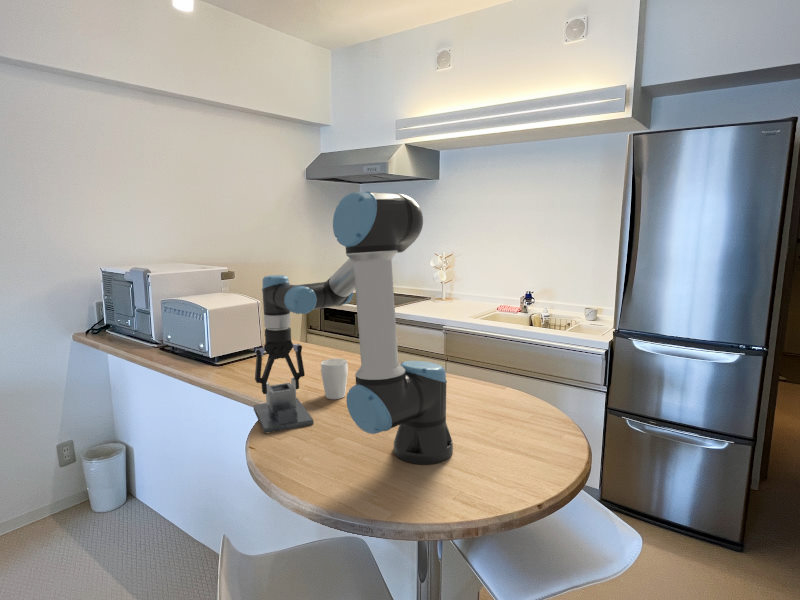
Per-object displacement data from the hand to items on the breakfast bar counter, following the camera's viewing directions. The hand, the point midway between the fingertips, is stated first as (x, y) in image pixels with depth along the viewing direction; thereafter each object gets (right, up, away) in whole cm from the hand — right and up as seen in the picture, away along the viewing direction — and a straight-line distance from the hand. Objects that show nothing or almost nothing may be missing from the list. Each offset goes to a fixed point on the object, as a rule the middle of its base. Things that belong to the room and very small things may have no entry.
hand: (281, 401), depth 147 cm
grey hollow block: (0, -2, 0) cm, 2 cm away
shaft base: (0, -5, +1) cm, 5 cm away
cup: (+14, -2, +18) cm, 23 cm away
